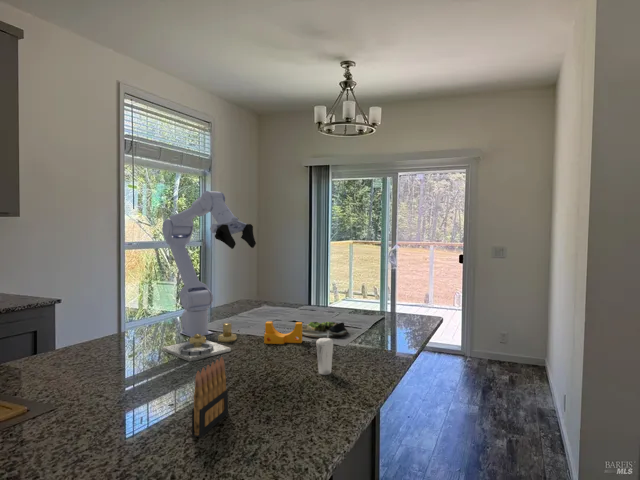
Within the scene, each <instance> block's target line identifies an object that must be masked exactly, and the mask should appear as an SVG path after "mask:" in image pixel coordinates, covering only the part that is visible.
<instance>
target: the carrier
mask: <svg viewBox="0 0 640 480" xmlns="http://www.w3.org/2000/svg"><path fill="white" fill-rule="evenodd" d="M231 350H232V349H231V347H229V346H226V345H222V344H219V343H217V342H214V341H211V340H208V339H207V337H206V335H204V336H201V334H195V335H194V336H192V337H190V336H189V340H188V341H184V342H181V343H176V344H172V345H167V346H162V351H163V352H165V353H168V354H170V355H173V356H175V357H177V358H180V359H182V360H185V361H187V362H188V363H189V362H190V363H191V362H194V361H197V360H201V359H206V358H209V357H213V356H217V355H221V354H225V353H229V352H232V351H231Z"/></svg>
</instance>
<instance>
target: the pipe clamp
mask: <svg viewBox="0 0 640 480" xmlns="http://www.w3.org/2000/svg"><path fill="white" fill-rule="evenodd" d="M302 325H303V322H301V321H296V322H295V325H294V328H293V330H292V331H290V332H288V333H281V332H279V331H278V329H276V328H275V326H274V322H273V321H266V322H265V325H264V330H265V333H264V334H263V340H264V341H263V343H264V344H269V345H275V344H277V345H284V344H285V343H286V344H287V343H289V344H302V342H303V335H302Z"/></svg>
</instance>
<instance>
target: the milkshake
mask: <svg viewBox="0 0 640 480" xmlns="http://www.w3.org/2000/svg"><path fill="white" fill-rule="evenodd" d="M334 344H335V343H334V340H333V339H332V338H331V337H329V332H327V337H325V338H318V339H317V340H316V341H315V345H316V353H317V354H316V356H317V357H316V358H317V368H318V369H317V372H318V375H319V374H320V375H322V376H324V375H325V376H326V375H331V374H332V365H333V364H332V363H333V351H334Z"/></svg>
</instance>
